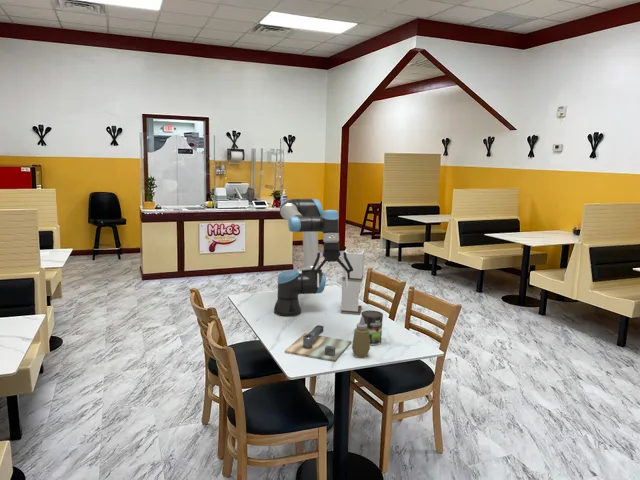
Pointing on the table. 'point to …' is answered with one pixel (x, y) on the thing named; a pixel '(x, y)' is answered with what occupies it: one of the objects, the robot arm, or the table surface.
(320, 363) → the table surface
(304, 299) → the table surface
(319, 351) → the plate
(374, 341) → the coffee can
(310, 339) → the latch bar
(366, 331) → the squeeze bottle
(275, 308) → the robot arm
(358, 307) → the white square tower
